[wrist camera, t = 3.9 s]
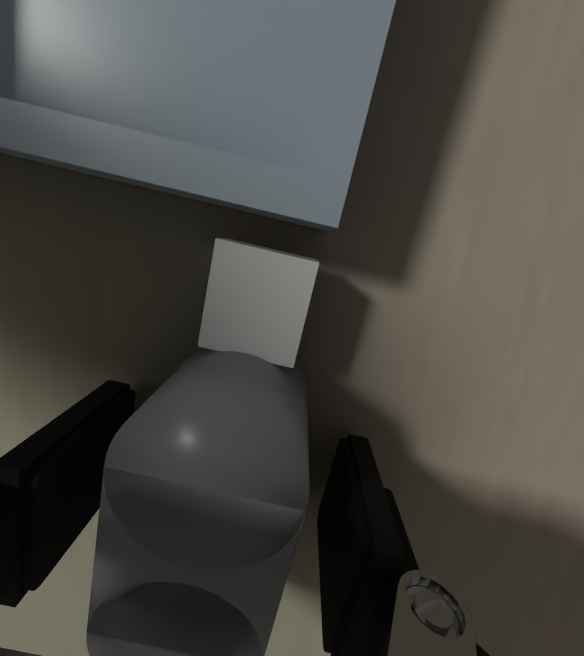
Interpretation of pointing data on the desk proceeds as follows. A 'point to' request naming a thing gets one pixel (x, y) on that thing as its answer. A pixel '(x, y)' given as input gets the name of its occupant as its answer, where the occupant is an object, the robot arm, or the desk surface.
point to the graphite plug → (211, 475)
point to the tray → (197, 96)
